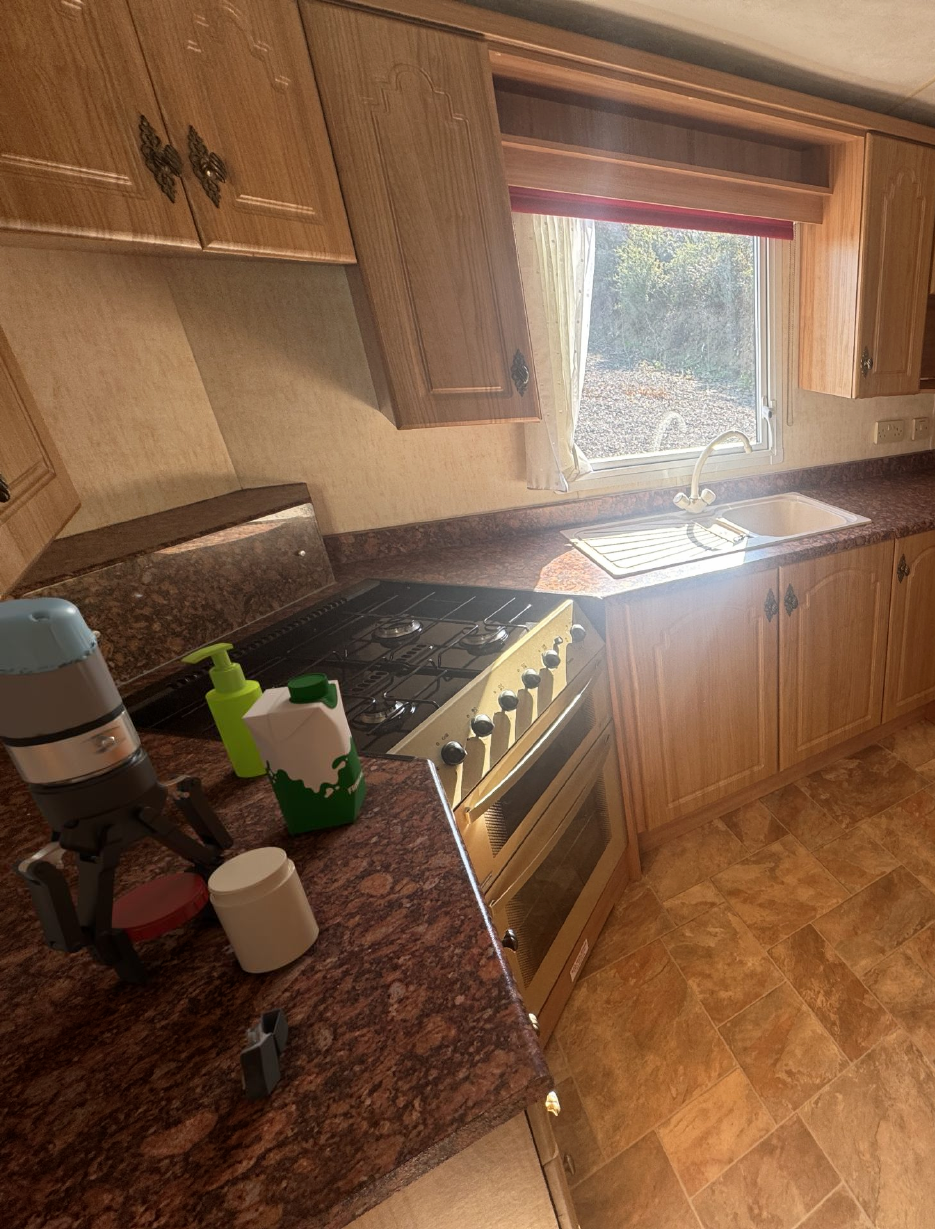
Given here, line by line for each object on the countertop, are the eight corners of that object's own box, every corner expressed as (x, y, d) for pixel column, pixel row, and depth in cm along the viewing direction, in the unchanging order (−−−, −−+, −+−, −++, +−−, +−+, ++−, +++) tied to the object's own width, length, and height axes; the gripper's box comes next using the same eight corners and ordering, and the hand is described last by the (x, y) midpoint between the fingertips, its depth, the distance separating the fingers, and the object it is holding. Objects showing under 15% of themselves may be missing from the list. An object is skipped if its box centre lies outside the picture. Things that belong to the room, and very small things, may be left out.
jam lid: (215, 910, 66) (209, 896, 66) (113, 956, 61) (105, 942, 61) (204, 874, 71) (198, 861, 70) (108, 914, 66) (100, 900, 65)
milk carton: (360, 825, 85) (318, 693, 78) (278, 841, 82) (225, 706, 75) (376, 786, 93) (339, 662, 85) (301, 799, 90) (256, 673, 82)
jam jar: (233, 948, 68) (197, 870, 64) (309, 910, 72) (280, 835, 68) (248, 985, 64) (211, 905, 60) (327, 942, 68) (297, 865, 64)
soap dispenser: (218, 778, 94) (167, 655, 87) (265, 752, 100) (222, 635, 93) (249, 784, 93) (200, 660, 85) (295, 757, 99) (254, 640, 92)
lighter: (266, 1070, 59) (256, 1012, 59) (294, 1058, 60) (284, 1001, 60) (237, 1108, 52) (225, 1043, 52) (269, 1094, 53) (258, 1030, 53)
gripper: (-37, 845, 49) (89, 1045, 58) (232, 712, 68) (297, 879, 76) (-108, 831, 51) (25, 1029, 59) (175, 705, 69) (245, 870, 78)
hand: (178, 945), depth 68 cm, fingers closed on jam lid, 7 cm apart
